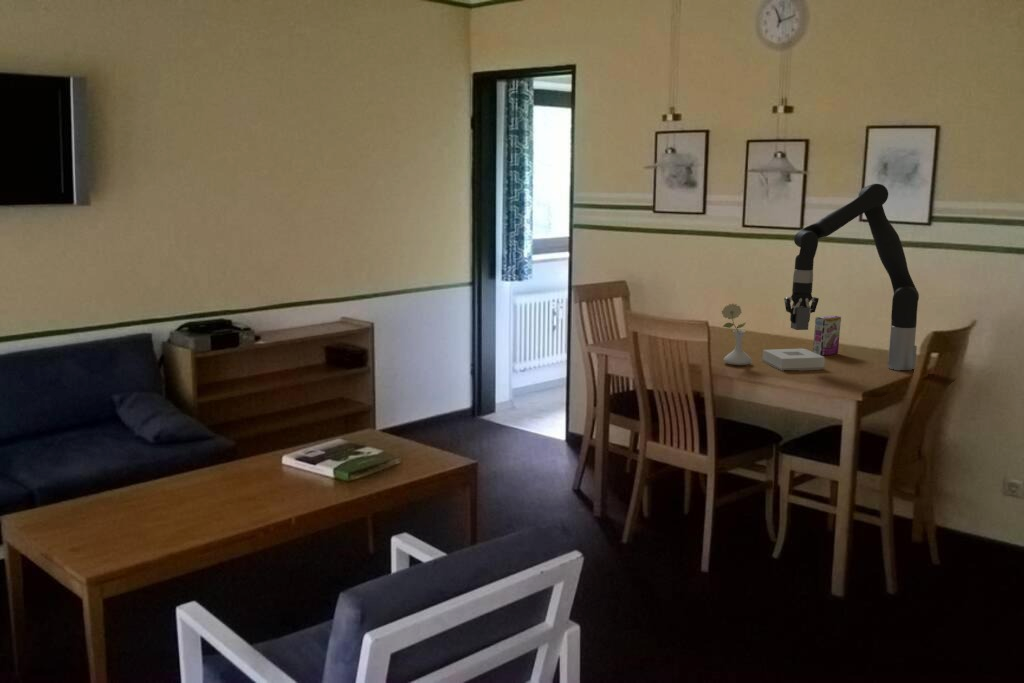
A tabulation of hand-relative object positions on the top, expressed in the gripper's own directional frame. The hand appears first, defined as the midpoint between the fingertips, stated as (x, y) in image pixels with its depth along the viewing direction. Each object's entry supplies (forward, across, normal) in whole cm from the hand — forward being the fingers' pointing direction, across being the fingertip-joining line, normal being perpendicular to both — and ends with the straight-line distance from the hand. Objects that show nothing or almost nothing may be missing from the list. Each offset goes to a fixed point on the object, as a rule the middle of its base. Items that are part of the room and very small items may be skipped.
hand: (799, 322), depth 376 cm
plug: (+2, 0, 0) cm, 2 cm away
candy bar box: (+18, -24, -21) cm, 36 cm away
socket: (+18, +1, -2) cm, 18 cm away
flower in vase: (+19, +23, -8) cm, 30 cm away
